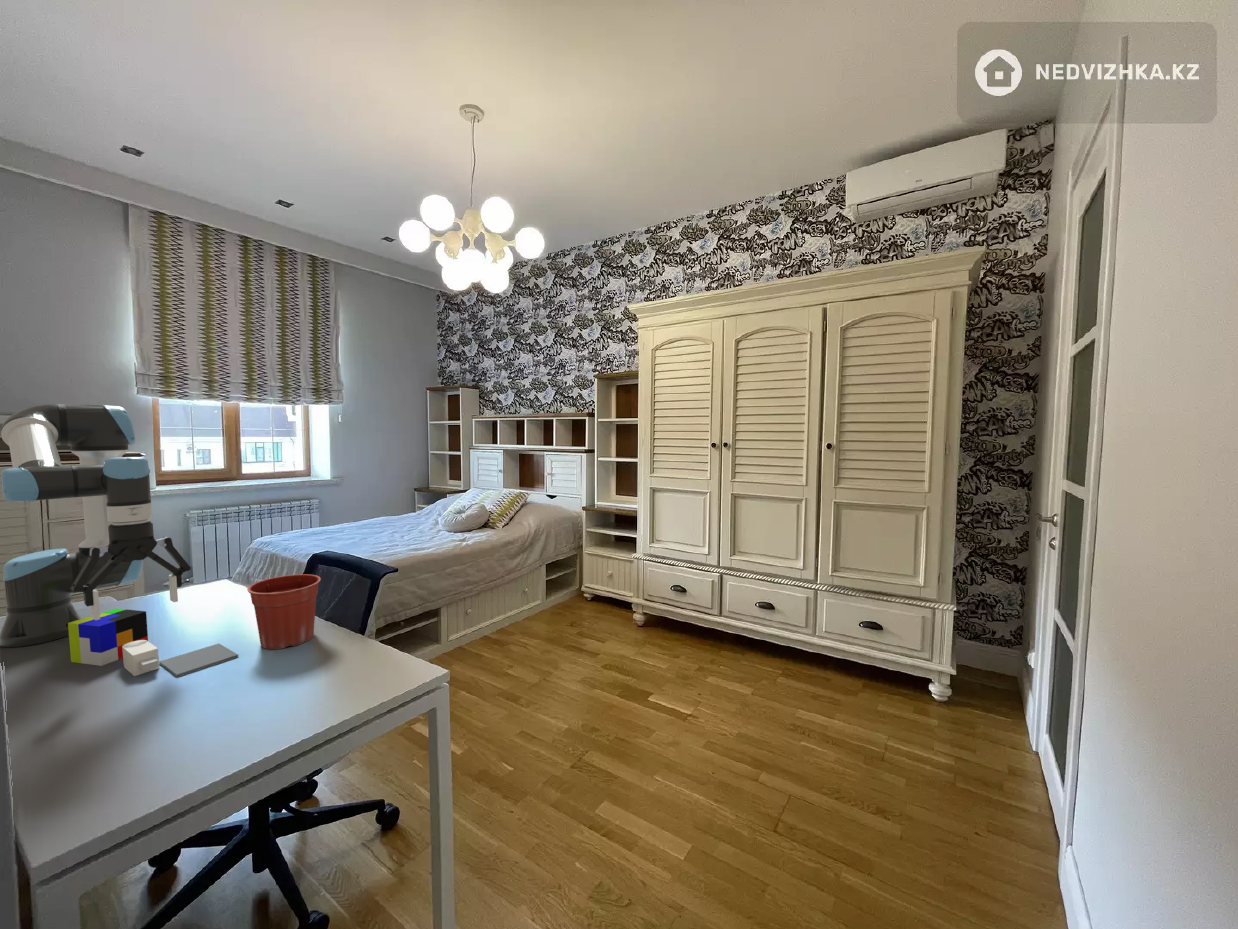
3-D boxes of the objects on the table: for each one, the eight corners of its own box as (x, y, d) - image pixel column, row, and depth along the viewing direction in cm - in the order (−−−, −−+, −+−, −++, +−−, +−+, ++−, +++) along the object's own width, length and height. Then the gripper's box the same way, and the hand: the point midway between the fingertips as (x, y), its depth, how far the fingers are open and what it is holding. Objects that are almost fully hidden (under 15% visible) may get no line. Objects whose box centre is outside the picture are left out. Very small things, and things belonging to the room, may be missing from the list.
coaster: (159, 663, 120) (159, 661, 120) (219, 645, 130) (219, 643, 130) (177, 677, 114) (176, 674, 114) (238, 656, 124) (238, 654, 124)
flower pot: (326, 643, 132) (323, 585, 131) (250, 660, 122) (247, 597, 121) (319, 623, 145) (317, 570, 144) (250, 637, 135) (247, 581, 134)
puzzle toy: (101, 666, 119) (98, 626, 118) (71, 662, 121) (67, 623, 120) (148, 648, 129) (146, 611, 128) (119, 644, 131) (116, 608, 130)
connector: (121, 664, 119) (119, 645, 119) (145, 657, 123) (144, 638, 123) (138, 680, 112) (137, 659, 112) (163, 672, 116) (162, 651, 116)
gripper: (54, 533, 103) (63, 630, 104) (202, 515, 124) (208, 597, 125) (47, 529, 107) (55, 623, 108) (191, 513, 128) (196, 592, 129)
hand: (137, 609), depth 117 cm, fingers open, 13 cm apart
